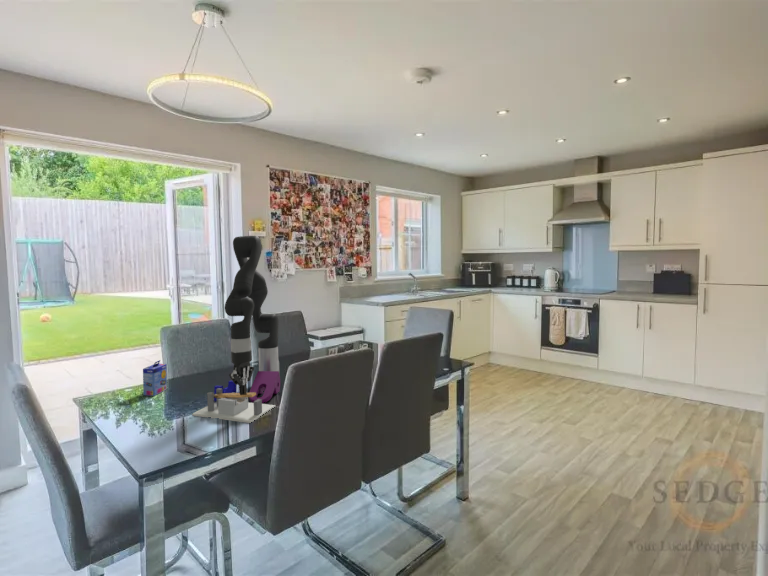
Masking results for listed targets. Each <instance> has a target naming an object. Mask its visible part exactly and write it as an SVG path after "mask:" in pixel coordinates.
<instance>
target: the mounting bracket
mask: <svg viewBox="0 0 768 576" xmlns="http://www.w3.org/2000/svg"><path fill="white" fill-rule="evenodd" d="M280 390H281V376H280V370H279V371H259V370H258V371H257V373H256V375H255V377H254V380H253V383H252V385H251V388H250V390H249V392H248V393H250V392H256V395H255V396H253V397H248V399H249V401H250V402H251V403H254V401H256V400H257V399H262V404H265V403H267V402H268V401H270V400H271V399H272V398H273V395H277V393H278V392H279V393H280ZM263 391H264V392H263ZM279 393H278V394H279ZM258 395H262V396H261V397H258ZM264 402H265V403H264Z"/></svg>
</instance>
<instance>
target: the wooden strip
mask: <svg viewBox="0 0 768 576" xmlns="http://www.w3.org/2000/svg"><path fill="white" fill-rule="evenodd" d="M249 392H250V391H249ZM249 392H247V393H246V394H244V395H240V394H239V392H236V393H216V394H214V398H227V399H230V398H239V397H248V398H249V397H253V396H255V395H256V392H250V393H249Z"/></svg>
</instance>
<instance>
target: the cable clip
mask: <svg viewBox="0 0 768 576" xmlns="http://www.w3.org/2000/svg"><path fill="white" fill-rule="evenodd" d="M217 388H221V389H222V393H237V385H235V384H234V382H233V381H232V380H228V384H227V387H224V385H214V390H213V393H214V394H216V389H217ZM214 402H217V399H216V398H214Z"/></svg>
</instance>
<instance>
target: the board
mask: <svg viewBox="0 0 768 576" xmlns="http://www.w3.org/2000/svg"><path fill="white" fill-rule="evenodd" d="M216 393H222V389H221V388H217V389H216ZM206 397H207V405H206V406H204V407H203V408H201V409H199V410H197V411H195V412H193V413H192V416H193V417H203V418H208V417H211V419H215V418H219V419H218V420H226V421H230V422H231V421H232V422H240V423H248V424H251V422H252V423H253V422H254V420H255V421H256V420H258V419H260V418H261V417H263V416H264V415H266V414H267V413H269V412H270V411H272V410H273V409H272V408H274V407H275V408H276V404H268V403H262V399H257V400H256V401H254V403H252V402H251V401H250V402H249V397H239V398H216V399H217V401H214V391H212V392H211V391H209V392H207V393H206ZM275 408H274V409H275ZM271 409H272V410H271ZM269 410H270V411H269ZM268 411H269V412H268ZM266 412H267V413H266ZM265 413H266V414H265ZM263 414H264V415H263ZM262 415H263V416H262ZM260 416H261V417H260Z"/></svg>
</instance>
